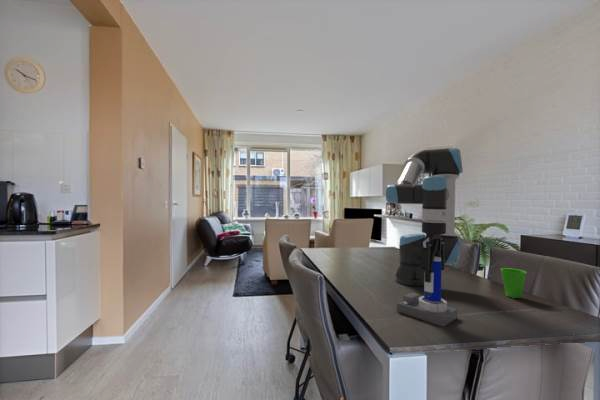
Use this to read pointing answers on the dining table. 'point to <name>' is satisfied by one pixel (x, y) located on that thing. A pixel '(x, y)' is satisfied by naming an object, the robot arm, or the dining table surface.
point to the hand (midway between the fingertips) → (432, 289)
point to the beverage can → (435, 282)
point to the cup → (513, 281)
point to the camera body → (426, 309)
